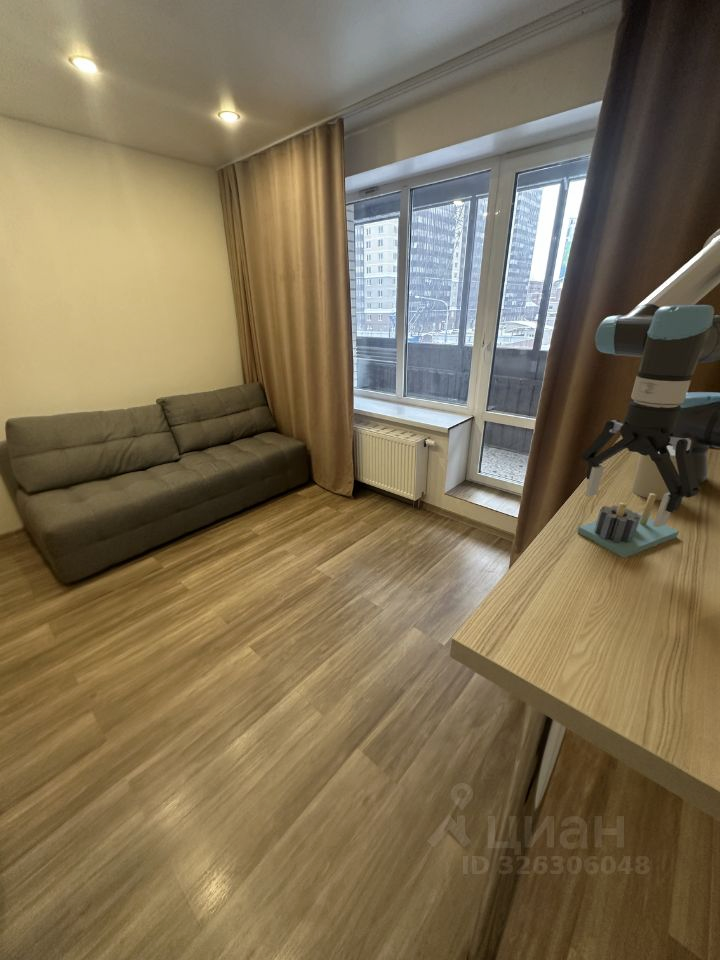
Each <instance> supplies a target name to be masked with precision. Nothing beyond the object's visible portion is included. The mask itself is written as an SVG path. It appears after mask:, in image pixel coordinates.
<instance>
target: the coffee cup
mask: <svg viewBox="0 0 720 960" xmlns="http://www.w3.org/2000/svg"><path fill="white" fill-rule="evenodd" d="M667 449H668V451H669V453H670V458H671V460H672V462H673V464H674V466H675V468H676V470H677V472H678V467H677V462H676V457H675V450H673V446H670V445H668V446H667ZM658 453H659V452H658ZM659 454H660V453H659ZM678 474H679V472H678ZM631 490H632V493H634V494H635V495H638V496H639V497H642V498H645V499H648V497H649V494H650V493H653V494H656V495H657V496H656V499H655V501H662V498H663V496H664V494H665V493H668V492H669V490H668V488H667V486H666V484H665V482H664V480H663V478H662V476H661V474H660V472H659V470H658V468H657V466H656V464H655V462H654V461H652V460H651V458H650V456H649V455H646V456H645V455H641V454H640V453H639V458H638V462H637V466H636V470H635V474H634V478H633V483H632V487H631Z"/></svg>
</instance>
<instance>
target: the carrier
mask: <svg viewBox="0 0 720 960" xmlns="http://www.w3.org/2000/svg"><path fill="white" fill-rule="evenodd" d="M656 496H657V495H656V494H653V493H650V494H649V497H648V498H647V499H646V500H647V501H646V503H645V506H644V509H643V511H642V514H641V513H638V512H636V511H634V510H631V509H630V510H631V511H632V513H633V514H636V515H638V516H639V519H638V522H637V524H636V527H635V530H634V533H633V536H632V539H631V541H630V542H629V543H625V542H621V541H620V543H613V542H612V540H610V539H609V540H608V539H605V540H604V539H602V538H600V535H599V534H598V533H595V531H594V529H595V526H596V522H597V520H595V521H592V522H589V523H585V524H583V525H579V526H578V528H577V532H578V533H577V534H579V533H580V534H579V535H581V534H582V535H583V536H582V535H581V536H582V537H584V536H585V538H586V537H587V538H586V539H588V538H589V540H590V539H591V540H590V541H592V540H593V541H595V542H596V544H597V543H598V544H597V545H599V544H600V545H599V546H601V545H602V546H601V547H602V548H604V547H605V549H606V548H607V549H606V550H608V551H610V552H612V553H613V554H616V555H617V556H620V557H621V558H623V559H625V558H629V557H631V556H633V555H636V554H638V553H641V552H643V551H645V549H646V550H649V549H651V548H653V547H652V546H654V547H656V546H658V545H657V544H659V545H661V544H664V543H666V542H668V540H669V541H672V540H673V539H677V537H678V535H679V532H680V530H677V529H676V528H674V527H671V526H668V525H667V524H665V525H662V526H660V527H655V526H653V524H654V521H655V519H652V518H650V515H651V512H652V509H653V507H654V504H655V501H656V500H655V499H656ZM617 506H618V509H617V512H616V515H617V516H622V517H623V514H624V511H625V509H627V506H628V505H627V503H625V502H619V504H618V505H617ZM593 541H592V542H593ZM665 541H666V542H665ZM595 542H594V543H595ZM663 542H664V543H663ZM660 543H661V544H660ZM655 545H656V546H655ZM650 547H651V548H650Z"/></svg>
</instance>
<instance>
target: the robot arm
mask: <svg viewBox="0 0 720 960" xmlns="http://www.w3.org/2000/svg"><path fill="white" fill-rule="evenodd" d="M719 284H720V228H718V229H717V230H716V231H715V232H714V233H712V235H710V236H709V237H708V239H707V240H706V241H705V242H704V244H703V247H702V249H701V250H700V251H699V252H698V253H697V254H695V255H694V256H693V257H692V258H691V259H689V261H687V263H685V264H683V266H681V267H680V268H679V269H678V270H676V272H674V273H673V274H672V275H671V276H670V277H669V278H667V280H665V281H664V282H663V283H662V284H660V285H659V286H658V287H657V288H655V290H654V291H653V292H651V293H650V294H649V295H648V296H647V297H646V298H645V299H643V300H642V301H640V302H639V304H637V306H635V307H634V308H633V309H631V311H629V312H628V313H627V314H625V315H622V314H618V315H611V316H607V317H606V318H604V319H603V320H602V321H601V322H600V324H599V326H598V328H597V330H596V333H595V337H594V341H595V346H596V349H597V350H598V351H599V352H600V353H603V354H609V355H610V354H611V355H614V356H625V357H637V358H641V360H640V364H639V367H638V370H637V374H636V376H635V380H634V385H633V386H632V387H633V388H632V392H631V394H630V395H631V396H630V398H631V399H632V400H631V401H629V402H628V405H627V409H626V411H625V412H626V413H625V416H624V423H622V422H621V421H620V420H619V419H614V420H608V421H606V422H605V424H604V427H603V430H602V432H601V433H600V434H598V436H597V437H596V438H595V439H594V441H593V442H592V443H591V444H590V445H589V446H588V447H587V449H586V450H585V451H584V452H583V453H582V455H581V456H580V458H581V460H582V461H585V462H586V463H588V468H587V472H586V476H585V478H586V479H587V480H588V482H587V485H586V491H585V493H584V494H585V496H586V497H591V496H595V495H598V492H599V487H600V484H601V481H602V476H603V473H604V469H605V465H603V462H606V460H609V459H610V458H611V457H613V456H615V455H616V454H618V453H620V452H621V451H623V450H625V449H627V451H629V452H631V453H632V452H633V453H638V454H639V455H640V454H641V455H645V456H646V455H649V456H650V458H651V460H652V461H654V462H655V464H656V466H657V468H658V470H659V472H660V474H661V476H662V478H663V480H664V482H665V484H666V486H667V488H668V490H669V492H668V493H665V494H664V496H663V498H662V500H660V501H661V502H660V504H659V508H658V510H657V513H656V516H655V519H654V520H655V521H654V524H653V526H655V527H660V526H662V525H667V523H668V521H669V518H670V516H671V513H675V512H677V511H678V510H679V508H680V506H681V503H682V500H683V498H691V497H694V496H697V495H699V494H700V493H701V489H700V486H699V485H701V484H703V483H705V481H706V479H707V477H708V451H709V449H710V447H711V448H712V447H713V448H716V449H720V392H712V391H710V392H709V391H708V392H707V391H706V392H705V391H695V392H694V391H693V392H692V391H691V392H689V388H690V385H691V382H692V379H693V376H694V373H695V371H696V368H697V365H698V364H700V363H701V364H702V363H712V362H717V361H718V360H719V361H720V314H719V315H714V314H715V308H714V307H713V306H712V305H709V304H698V303H699V301H701V300H702V299H703V298H704V297H705V296H706V295H707V294H709V292H711V291H712V290H713V289H714V288H715V287H717V286H718V285H719ZM616 433H620V435H621V439H620V440H618V441H617V442H615V443H613V445H611V446H610V447H609V448H607V449H605V450H603V451H602V452H601V453H599V452H600V451H601V450H602V449H603V448H604V447H605V445H607V443H608V442H609V441H610V440H611V439H612V438H613V437H614V435H615V434H616ZM668 445H670V446H673V450H675V457H676V462H677V467H678V472H679V474H678V472H677V470H676V468H675V466H674V464H673V462H672V460H671V458H670V453H669V451H668V449H667V446H668ZM658 452H659V453H660V454H659V453H658Z"/></svg>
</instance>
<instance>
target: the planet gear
mask: <svg viewBox="0 0 720 960" xmlns="http://www.w3.org/2000/svg"><path fill="white" fill-rule="evenodd" d="M618 506H619V505H612V506H607V505H603V506H601V509H599V513H598V516H597V519H596V521H597V522H596V526H595V529H594V531H595V533H598V534H599V535H600V538H602V539H604V540H605V539H608V540H609V539H610V540H612V542H613V543H620V541H621V542H625V543H629V542H630V541H631V539H632V536H633V533H634V530H635V527H636V524H637V522H638V519H639V516H638V515H636V514H633V513H632V511H633V510H632V511H631V509H629V508H625V511H624V514H623V517H622V516H617V515H616V512H617V509H618Z"/></svg>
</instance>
